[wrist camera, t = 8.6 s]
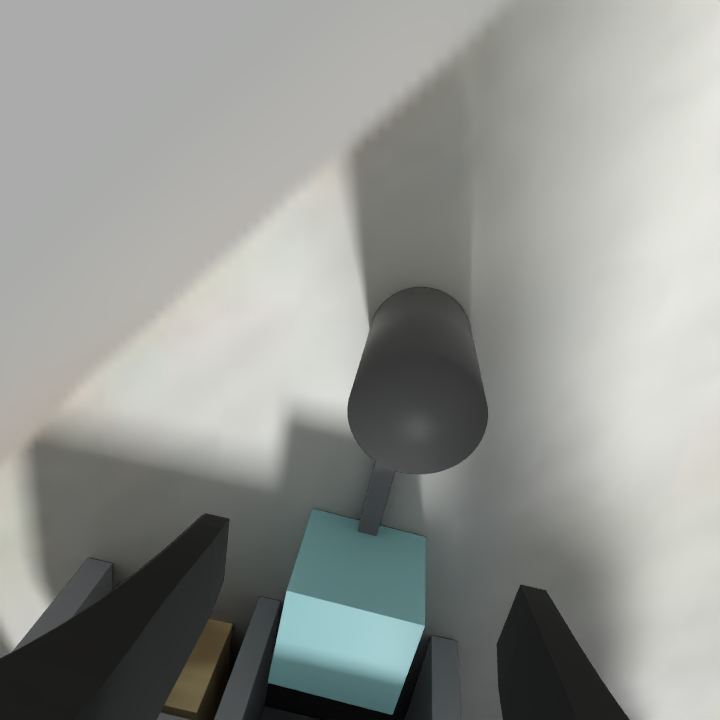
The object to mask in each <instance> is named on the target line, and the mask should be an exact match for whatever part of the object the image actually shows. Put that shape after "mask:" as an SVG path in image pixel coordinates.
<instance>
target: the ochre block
mask: <svg viewBox="0 0 720 720" xmlns="http://www.w3.org/2000/svg"><path fill="white" fill-rule="evenodd" d="M232 625H233V624H231V623H226V622H222V621H217V620H213V619H209V620H208V622H207V624H206V626H205V628H204V630H203V632H202V634H201V636H200V637H199V639H198V641H197V643H196V645H195V647H194V649H193V651H192V653H191V655H190V657H189V659H188V661H187V662H186V664H185V666H184V668H183V670H182V672H181V674H180V676H179V678H178V680H177V682H176V683H175V685H174V687H173V689H172V691H171V693H170V695H169V697H168V699H167V701H166V703H165V705H164V706H163V708H162V710H161V712H160V713H164V714H169V715H173V716H177V717H181V718H186V719H190V720H214V719H215V716H216V713H217V711H218V708H219V705H220V703H221V700H222V697H223V694H224V692H225V689H226V686H227V683H228V671H229V660H230V648H231V636H232Z"/></svg>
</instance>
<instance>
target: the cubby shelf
mask: <svg viewBox="0 0 720 720" xmlns="http://www.w3.org/2000/svg"><path fill="white" fill-rule="evenodd" d="M112 590H113V580H112V563H108V562H104V561H100V560H95V559H91V558H88V559H87V560H86V561H85V562H84V564H83V565H82V566H81V567H80V569H79V570H78V571H77V572H76V574H75V575H74V576H73V577H72V578H71V580H70V581H69V582H68V583H67V585H66V586H65V587H64V588H63V590H62V591H61V592H60V593H59V595H58V596H57V597H56V598H55V600H54V601H53V602H52V603H51V604H50V606H49V607H48V608H47V609H46V611H45V612H44V613H43V614H42V616H41V617H40V618H39V619H38V621H37V622H36V623H35V624H34V625H33V627H32V628H31V629H30V630H29V632H28V633H27V634H26V635H25V637H24V638H23V639H22V640H21V642H20V643H19V644H18V645H17V646H16V648H15V649H14V650H13V651H12V652H14V651H15V650H17V649H19V648H21V647H23V646H25V645H26V644H28V643H30V642H32V641H33V640H35V639H37V638H39V637H40V636H42V635H44V634H45V633H47V632H49V631H51V630H52V629H54V628H56V627H57V626H59V625H61V624H62V623H64V622H66V621H67V620H69V619H70V618H72V617H73V616H75V615H77V614H78V613H80V612H81V611H83V610H84V609H86V608H87V607H89V606H90V605H92V604H93V603H95V602H96V601H98V600H99V599H101V598H102V597H103V596H105V595H106V594H108V593H109V592H110V591H112ZM279 605H280V601H277V600H272V599H268V598H264V597H259V599H258V602H257V605H256V608H255V610H254V613H253V616H252V618H251V621H250V624H249V627H248V629H247V632H246V635H245V637H244V640H243V643H242V646H241V648H240V651H239V654H238V656H237V659H236V662H235V665H234V667H233V670H232V673H231V675H230V678H229V681H228V684H227V686H226V689H225V692H224V694H223V697H222V700H221V703H220V705H219V708H218V711H217V713H216V716H215V719H214V720H320V719H316V718H311V717H307V716H303V715H299V714H294V713H290V712H286V711H282V710H277V709H273V708H269V707H265V700H266V693H267V687H268V678H269V673H270V666H271V659H272V652H273V646H274V639H275V632H276V625H277V618H278V612H279ZM157 720H190V719H186V718H181V717H177V716H173V715H169V714H164V713H160V714H159V716H158V718H157ZM405 720H461V702H460V684H459V666H458V648H457V641H454V640H450V639H445V638H441V637H436V636H431V640H430V643H429V646H428V649H427V652H426V655H425V658H424V662H423V665H422V668H421V671H420V674H419V677H418V681H417V684H416V687H415V690H414V693H413V696H412V699H411V703H410V706H409V709H408V712H407V715H406V718H405Z"/></svg>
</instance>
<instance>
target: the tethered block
mask: <svg viewBox="0 0 720 720" xmlns="http://www.w3.org/2000/svg"><path fill="white" fill-rule="evenodd" d="M487 420H488V407H487V402H486V397H485V392H484V388H483V383H482V379H481V374H480V369H479V365H478V360H477V355H476V351H475V346H474V341H473V337H472V332H471V328H470V323H469V320H468V317H467V315H466V313H465V311H464V310H463V308H462V307H461V305H460V304H459V303H458V302H457V301H456V300H455V299H453V298H452V297H451V296H449V295H448V294H446V293H444V292H442V291H440V290H436V289H433V288H427V287H415V288H409V289H405V290H402V291H400V292H398V293H396V294H394V295H392V296H391V297H389V298H388V299H387V300H386V301H385V302H384V303H383V304H382V305H381V306H380V307H379V309H378V311H377V312H376V314H375V316H374V318H373V322H372V325H371V328H370V332H369V335H368V338H367V341H366V345H365V348H364V351H363V354H362V358H361V361H360V364H359V367H358V371H357V374H356V377H355V381H354V384H353V387H352V390H351V394H350V397H349V401H348V421H349V425H350V429H351V432H352V434H353V436H354V438H355V440H356V441H357V443H358V444H359V446H360V447H361V448H362V449H363V451H364V452H365V453H367V454H368V455H369V456H370V457H371V458H372V459H374V460H375V465H374V469H373V473H372V476H371V480H370V484H369V488H368V492H367V495H366V499H365V503H364V507H363V510H362V514H361V518H360V520H356V519H352V518H348V517H344V516H340V515H336V514H332V513H328V512H324V511H320V510H316V509H312V511H311V515H310V518H309V521H308V524H307V527H306V530H305V534H304V537H303V540H302V543H301V546H300V550H299V553H298V556H297V559H296V562H295V566H294V569H293V572H292V575H291V578H290V581H289V585H288V588H287V591H286V596H285V601H284V606H283V611H282V615H281V620H280V625H279V630H278V635H277V640H276V644H275V649H274V654H273V659H272V664H271V669H270V673H269V678H268V683H271V684H275V685H279V686H282V687H286V688H290V689H294V690H298V691H302V692H306V693H309V694H313V695H317V696H321V697H325V698H329V699H332V700H336V701H340V702H344V703H348V704H352V705H356V706H359V707H363V708H367V709H371V710H375V711H379V712H382V713H386V714H390V715H393V712H394V709H395V707H396V704H397V701H398V698H399V696H400V693H401V690H402V688H403V685H404V682H405V679H406V677H407V674H408V671H409V668H410V666H411V663H412V660H413V658H414V655H415V652H416V649H417V647H418V644H419V641H420V638H421V636H422V633H423V630H424V628H425V577H426V537H424V536H420V535H416V534H412V533H408V532H404V531H400V530H396V529H392V528H388V527H384V526H380V522H381V519H382V515H383V512H384V508H385V505H386V501H387V498H388V494H389V491H390V487H391V484H392V480H393V477H394V473H395V470H396V471H399V472H403V473H409V474H429V473H436V472H440V471H443V470H446V469H448V468H451V467H453V466H455V465H457V464H459V463H460V462H462V461H463V460H464V459H466V458H467V457H468V456H469V455H470V454H471V453H472V452H473V451H474V450H475V449H476V447H477V446H478V444H479V443H480V441H481V440H482V437H483V435H484V433H485V430H486V426H487Z"/></svg>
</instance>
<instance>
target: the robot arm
mask: <svg viewBox="0 0 720 720" xmlns="http://www.w3.org/2000/svg"><path fill="white" fill-rule="evenodd" d="M228 530H229V519H228V518H224V517H219V516H215V515H210V514H204V515H202V516H201V517H200V518H198V519H197V520H196V521H195V522H194V523H193V524H192V525H191V526H190V527H189V528H188V529H187V530H185V531H184V532H183V533H182V534H181V535H180V536H179V537H178V538H177V539H175V540H174V541H173V542H172V543H171V544H170V545H168V546H167V547H166V548H165V549H164V550H163V551H161V552H160V553H159V554H158V555H157V556H155V557H154V558H153V559H152V560H150V561H149V562H148V563H147V564H146V565H144V566H143V567H142V568H141V569H139V570H138V571H137V572H136V573H134V574H133V575H132V576H130V577H129V578H128V579H126V580H125V581H124V582H122V583H121V584H120V585H118V586H117V587H116V588H114V589H113V590H112V591H110V592H109V593H108V594H106V595H105V596H103V597H102V598H101V599H99V600H98V601H96V602H95V603H93V604H92V605H90V606H89V607H87V608H86V609H84V610H83V611H81V612H80V613H78V614H77V615H75V616H73V617H72V618H70V619H69V620H67V621H66V622H64V623H62V624H61V625H59V626H57V627H56V628H54V629H52V630H51V631H49V632H47V633H45V634H44V635H42V636H40V637H39V638H37V639H35V640H33V641H32V642H30V643H28V644H26V645H25V646H23V647H21V648H19V649H17V650H15V651H14V652H12V653H10V654H8V655H6V656H4V657H2V658H0V720H157V718H158V716H159V714H160V712H161V710H162V708H163V706H164V705H165V703H166V701H167V699H168V697H169V695H170V693H171V691H172V689H173V687H174V685H175V683H176V682H177V680H178V678H179V676H180V674H181V672H182V670H183V668H184V666H185V664H186V662H187V661H188V659H189V657H190V655H191V653H192V651H193V649H194V647H195V645H196V643H197V641H198V639H199V637H200V636H201V634H202V632H203V630H204V628H205V626H206V624H207V622H208V620H209V617H210V615H211V612H212V610H213V607H214V605H215V602H216V599H217V597H218V594H219V592H220V589H221V586H222V584H223V581H224V572H225V561H226V551H227V540H228ZM497 665H498V686H499V695H500V703H501V709H502V716H503V720H629V718H628V717H627V716H626V714H625V713H624V711H623V710H622V709H621V707H620V706H619V704H618V703H617V702H616V700H615V699H614V697H613V696H612V695H611V693H610V692H609V690H608V689H607V687H606V686H605V684H604V683H603V681H602V680H601V678H600V677H599V675H598V674H597V672H596V670H595V669H594V667H593V666H592V664H591V663H590V661H589V660H588V658H587V657H586V655H585V653H584V652H583V650H582V649H581V647H580V646H579V644H578V642H577V641H576V639H575V637H574V636H573V634H572V633H571V631H570V629H569V628H568V626H567V624H566V623H565V621H564V619H563V618H562V616H561V614H560V613H559V611H558V609H557V608H556V606H555V604H554V603H553V601H552V600H551V598H550V596H549V595H548V593H547V591H546V590H542V589H537V588H533V587H529V586H524V585H520V587H519V590H518V592H517V595H516V597H515V600H514V602H513V605H512V607H511V610H510V612H509V615H508V617H507V620H506V622H505V625H504V627H503V630H502V632H501V635H500V637H499V640H498V642H497Z"/></svg>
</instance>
